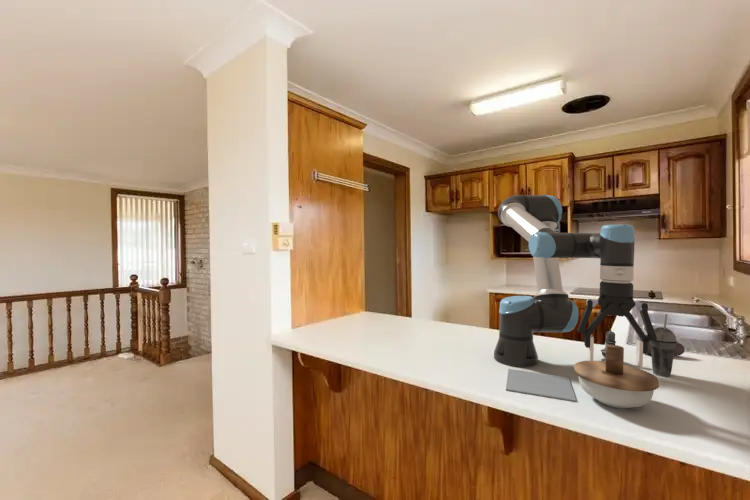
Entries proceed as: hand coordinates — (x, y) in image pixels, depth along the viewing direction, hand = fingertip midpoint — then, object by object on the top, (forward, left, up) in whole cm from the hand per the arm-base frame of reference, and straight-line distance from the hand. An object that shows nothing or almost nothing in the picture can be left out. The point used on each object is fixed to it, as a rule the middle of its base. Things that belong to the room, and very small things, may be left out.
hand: (614, 362), depth 95 cm
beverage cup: (+20, +31, -11) cm, 38 cm away
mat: (-18, +5, -11) cm, 22 cm away
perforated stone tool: (+26, +56, -11) cm, 63 cm away
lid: (0, 0, -4) cm, 4 cm away
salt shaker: (+6, +39, -11) cm, 41 cm away
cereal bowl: (0, 0, -11) cm, 11 cm away
